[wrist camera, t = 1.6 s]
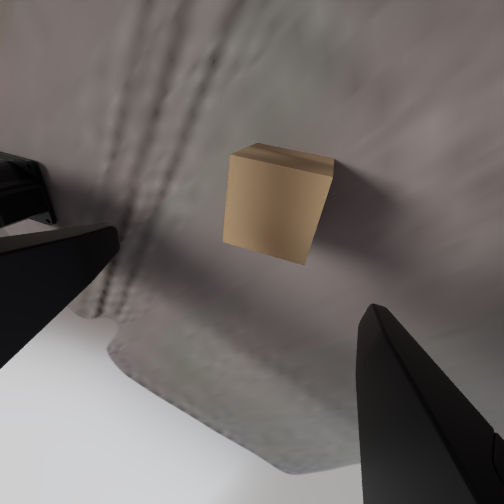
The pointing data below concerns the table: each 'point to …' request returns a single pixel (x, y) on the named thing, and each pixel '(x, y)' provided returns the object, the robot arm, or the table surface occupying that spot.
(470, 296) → the table surface
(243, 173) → the tan wooden cube
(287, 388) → the table surface
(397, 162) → the table surface
